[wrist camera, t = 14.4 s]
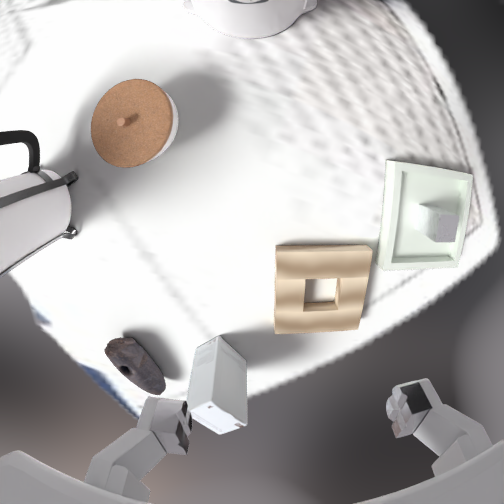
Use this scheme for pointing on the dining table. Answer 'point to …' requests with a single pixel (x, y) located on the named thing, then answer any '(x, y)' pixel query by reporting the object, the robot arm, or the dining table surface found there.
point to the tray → (405, 215)
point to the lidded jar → (133, 123)
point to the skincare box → (218, 387)
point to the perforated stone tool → (136, 364)
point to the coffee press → (32, 207)
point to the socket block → (320, 267)
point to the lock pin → (437, 223)
